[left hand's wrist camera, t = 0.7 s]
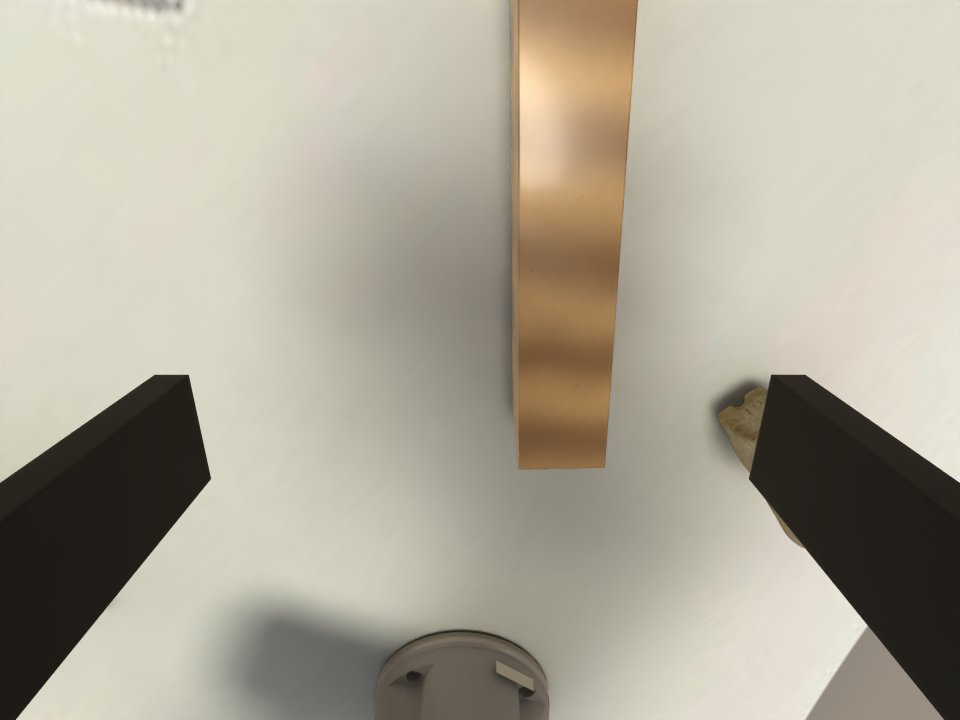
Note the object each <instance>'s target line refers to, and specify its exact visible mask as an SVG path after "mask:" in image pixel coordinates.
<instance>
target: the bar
mask: <svg viewBox="0 0 960 720" xmlns="http://www.w3.org/2000/svg"><path fill="white" fill-rule="evenodd" d="M637 7H638V0H510V61H511V225H512V390H513V419H514V429H515V438H516V448H517V458H518V467H519V469H568V468H604V467H605V458H606V444H607V430H608V415H609V401H610V387H611V373H612V359H613V345H614V331H615V317H616V303H617V289H618V275H619V260H620V246H621V232H622V218H623V204H624V190H625V176H626V162H627V148H628V134H629V120H630V105H631V91H632V77H633V63H634V49H635V35H636V21H637Z"/></svg>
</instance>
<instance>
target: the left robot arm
mask: <svg viewBox="0 0 960 720" xmlns="http://www.w3.org/2000/svg"><path fill="white" fill-rule="evenodd" d="M210 480H211V476H210V472H209V467H208V462H207V458H206V453H205V448H204V444H203V439H202V435H201V430H200V425H199V421H198V416H197V411H196V407H195V402H194V397H193V393H192V388H191V383H190V379H189V375H154V376H152V377H151V378H150V379H148V380H147V381H145V382H144V383H142V384H141V385H140V386H138V387H137V388H135V389H134V390H132V391H131V392H130V393H128V394H127V395H125V396H124V397H122V398H121V399H120V400H118V401H117V402H115V403H114V404H112V405H111V406H110V407H108V408H107V409H105V410H104V411H102V412H101V413H99V414H98V415H97V416H95V417H94V418H92V419H91V420H89V421H88V422H87V423H85V424H84V425H82V426H81V427H79V428H78V429H77V430H75V431H74V432H72V433H71V434H69V435H68V436H67V437H65V438H64V439H62V440H61V441H59V442H58V443H57V444H55V445H54V446H52V447H51V448H49V449H48V450H47V451H45V452H44V453H42V454H41V455H39V456H38V457H37V458H35V459H34V460H32V461H31V462H29V463H28V464H27V465H25V466H24V467H22V468H21V469H19V470H18V471H17V472H15V473H14V474H12V475H11V476H9V477H8V478H7V479H5V480H4V481H2V482H1V483H0V720H16V719H17V717H18V716H19V715H20V714H21V713H22V711H23V710H24V709H25V708H26V706H27V705H28V704H29V703H30V701H31V700H32V699H33V698H34V696H35V695H36V694H37V693H38V692H39V690H40V689H41V688H42V687H43V685H44V684H45V683H46V682H47V680H48V679H49V678H50V677H51V676H52V674H53V673H54V672H55V671H56V669H57V668H58V667H59V666H60V664H61V663H62V662H63V661H64V660H65V658H66V657H67V656H68V655H69V653H70V652H71V651H72V650H73V648H74V647H75V646H76V645H77V643H78V642H79V641H80V640H81V639H82V637H83V636H84V635H85V634H86V632H87V631H88V630H89V629H90V627H91V626H92V625H93V624H94V623H95V621H96V620H97V619H98V618H99V616H100V615H101V614H102V613H103V611H104V610H105V609H106V608H107V607H108V605H109V604H110V603H111V602H112V600H113V599H114V598H115V597H116V595H117V594H118V593H119V592H120V590H121V589H122V588H123V587H124V586H125V584H126V583H127V582H128V581H129V579H130V578H131V577H132V576H133V574H134V573H135V572H136V571H137V570H138V568H139V567H140V566H141V565H142V563H143V562H144V561H145V560H146V558H147V557H148V556H149V555H150V554H151V552H152V551H153V550H154V549H155V547H156V546H157V545H158V544H159V542H160V541H161V540H162V539H163V537H164V536H165V535H166V534H167V533H168V531H169V530H170V529H171V528H172V526H173V525H174V524H175V523H176V521H177V520H178V519H179V518H180V517H181V515H182V514H183V513H184V512H185V510H186V509H187V508H188V507H189V505H190V504H191V503H192V502H193V501H194V499H195V498H196V497H197V496H198V494H199V493H200V492H201V491H202V489H203V488H204V487H205V486H206V484H207V483H208V482H209V481H210ZM749 480H750V481H751V482H752V483H753V484H754V486H755V487H756V488H757V489H758V491H759V492H760V493H761V494H762V496H763V497H764V498H765V499H766V501H767V502H768V503H769V504H770V505H771V507H772V508H773V509H774V510H775V512H776V513H777V514H778V515H779V517H780V518H781V519H782V520H783V521H784V523H785V524H786V525H787V526H788V528H789V529H790V530H791V531H792V533H793V534H794V535H795V536H796V537H797V539H798V540H799V541H800V542H801V544H802V545H803V546H804V547H805V549H806V550H807V551H808V552H809V554H810V555H811V556H812V557H813V558H814V560H815V561H816V562H817V563H818V565H819V566H820V567H821V568H822V570H823V571H824V572H825V573H826V574H827V576H828V577H829V578H830V579H831V581H832V582H833V583H834V584H835V586H836V587H837V588H838V589H839V590H840V592H841V593H842V594H843V595H844V597H845V598H846V599H847V600H848V602H849V603H850V604H851V605H852V607H853V608H854V609H855V610H856V611H857V613H858V614H859V615H860V616H861V618H862V619H863V620H864V621H865V623H866V624H867V625H868V626H869V627H870V629H871V630H872V631H873V632H874V634H875V635H876V636H877V637H878V638H879V640H880V641H881V642H882V643H883V645H884V646H885V647H886V648H887V650H888V651H889V652H890V653H891V655H892V656H893V657H894V658H895V660H896V661H897V662H898V663H899V664H900V666H901V667H902V668H903V669H904V671H905V672H906V673H907V674H908V676H909V677H910V678H911V679H912V680H913V682H914V683H915V684H916V685H917V687H918V688H919V689H920V690H921V692H922V693H923V694H924V695H925V696H926V698H927V699H928V700H929V701H930V703H931V704H932V705H933V706H934V708H935V709H936V710H937V711H938V712H939V714H940V715H941V716H942V717H943V719H944V720H960V483H959V482H958V481H956V480H955V479H953V478H952V477H951V476H949V475H948V474H946V473H945V472H943V471H942V470H941V469H939V468H938V467H936V466H935V465H933V464H932V463H931V462H929V461H928V460H926V459H925V458H923V457H922V456H921V455H919V454H918V453H916V452H915V451H913V450H912V449H911V448H909V447H908V446H906V445H905V444H903V443H902V442H901V441H899V440H898V439H896V438H895V437H893V436H892V435H891V434H889V433H888V432H886V431H885V430H883V429H882V428H881V427H879V426H878V425H876V424H875V423H873V422H872V421H871V420H869V419H868V418H866V417H865V416H863V415H862V414H860V413H859V412H858V411H856V410H855V409H853V408H852V407H850V406H849V405H848V404H846V403H845V402H843V401H842V400H840V399H839V398H838V397H836V396H835V395H833V394H832V393H830V392H829V391H828V390H826V389H825V388H823V387H822V386H820V385H819V384H818V383H816V382H815V381H813V380H812V379H810V378H809V377H808V376H806V375H771V379H770V383H769V388H768V393H767V397H766V402H765V407H764V411H763V416H762V421H761V425H760V430H759V435H758V439H757V444H756V448H755V453H754V458H753V462H752V467H751V472H750V476H749ZM374 718H375V720H548V719H549V697H548V689H547V683H546V679H545V676H544V674H543V672H542V670H541V669H540V667H539V665H538V664H537V663H536V662H535V661H534V659H533V658H531V657H530V656H529V655H528V654H527V653H526V652H524V651H523V650H522V649H520V648H519V647H517V646H515V645H513V644H511V643H509V642H507V641H505V640H502V639H499V638H497V637H493V636H489V635H485V634H479V633H471V632H450V633H441V634H436V635H432V636H428V637H425V638H422V639H419V640H417V641H414V642H412V643H410V644H408V645H407V646H405V647H403V648H402V649H400V650H399V651H398V652H396V653H395V654H394V655H393V656H392V657H391V658H390V659H389V660H388V662H387V663H386V664H385V666H384V667H383V669H382V671H381V673H380V676H379V679H378V684H377V689H376V694H375V702H374Z"/></svg>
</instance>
